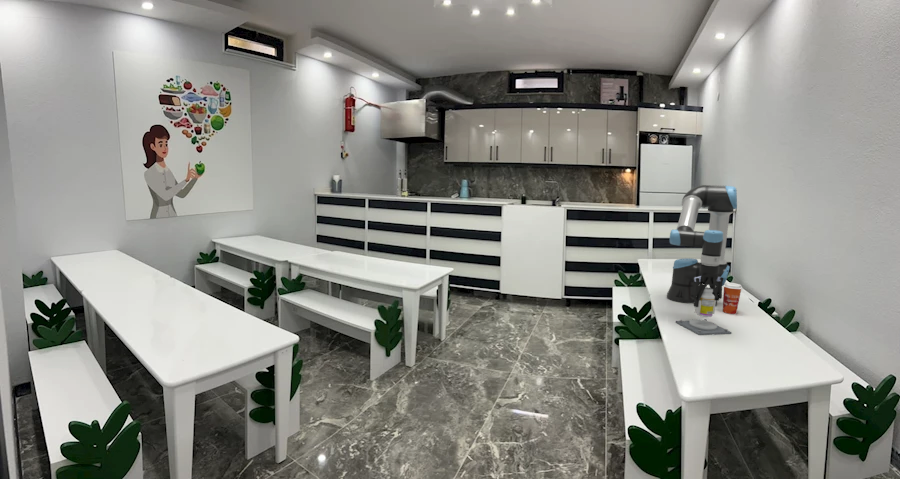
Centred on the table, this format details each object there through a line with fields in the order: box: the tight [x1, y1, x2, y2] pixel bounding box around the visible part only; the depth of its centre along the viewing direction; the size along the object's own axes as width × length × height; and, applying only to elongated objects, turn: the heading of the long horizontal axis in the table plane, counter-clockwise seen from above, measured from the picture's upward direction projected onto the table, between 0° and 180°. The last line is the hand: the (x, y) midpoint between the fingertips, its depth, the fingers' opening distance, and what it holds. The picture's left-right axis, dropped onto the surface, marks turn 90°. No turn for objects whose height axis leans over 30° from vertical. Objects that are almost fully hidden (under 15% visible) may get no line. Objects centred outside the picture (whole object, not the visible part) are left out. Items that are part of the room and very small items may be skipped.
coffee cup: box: [722, 282, 743, 315], centre depth 226 cm, size 8×8×15 cm
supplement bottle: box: [696, 286, 715, 318], centre depth 201 cm, size 7×7×13 cm
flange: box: [675, 318, 732, 336], centre depth 203 cm, size 16×16×2 cm
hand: (704, 313), depth 202 cm, fingers closed on supplement bottle, 7 cm apart
